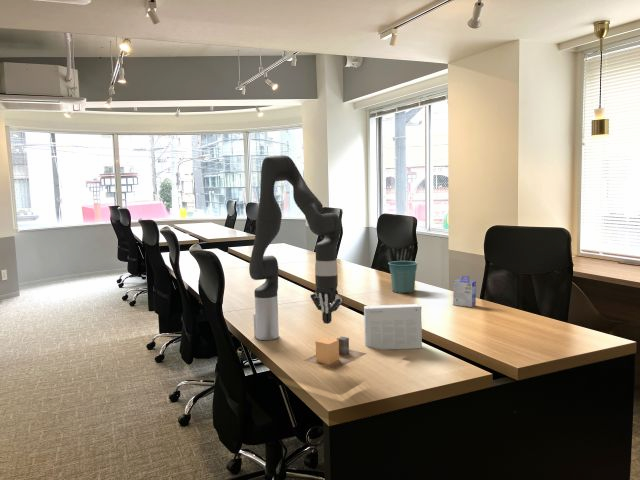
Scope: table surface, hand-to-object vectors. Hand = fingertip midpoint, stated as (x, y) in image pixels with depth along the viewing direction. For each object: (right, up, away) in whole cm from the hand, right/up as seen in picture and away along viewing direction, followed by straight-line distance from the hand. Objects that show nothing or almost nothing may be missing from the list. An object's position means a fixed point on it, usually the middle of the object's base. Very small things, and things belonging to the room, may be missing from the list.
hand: (327, 322), depth 172 cm
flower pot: (+44, -1, +113) cm, 121 cm away
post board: (+3, -14, +5) cm, 15 cm away
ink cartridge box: (+69, -4, +78) cm, 105 cm away
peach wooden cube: (0, -13, +2) cm, 13 cm away
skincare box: (+25, -12, +18) cm, 33 cm away
